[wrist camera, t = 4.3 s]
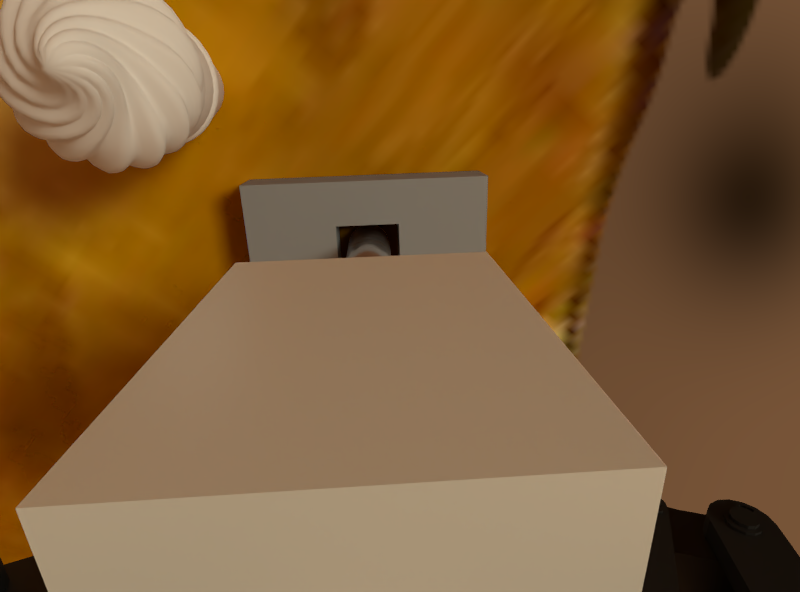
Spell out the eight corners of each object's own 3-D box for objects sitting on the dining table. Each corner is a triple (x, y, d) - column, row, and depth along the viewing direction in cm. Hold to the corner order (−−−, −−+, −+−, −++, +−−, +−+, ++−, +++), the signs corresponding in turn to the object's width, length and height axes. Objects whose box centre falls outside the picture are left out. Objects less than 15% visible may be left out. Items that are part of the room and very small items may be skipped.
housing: (267, 468, 20) (153, 861, 9) (235, 262, 17) (15, 508, 6) (479, 454, 20) (595, 818, 10) (486, 251, 17) (667, 467, 7)
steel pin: (350, 264, 36) (340, 332, 25) (347, 225, 35) (336, 277, 24) (390, 263, 37) (398, 329, 25) (388, 223, 36) (396, 274, 24)
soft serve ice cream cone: (157, 168, 33) (-17, 214, 18) (99, 35, 30) (-166, -39, 15) (274, 134, 33) (193, 152, 18) (226, -3, 30) (83, -119, 15)
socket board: (283, 422, 41) (277, 445, 38) (250, 179, 34) (239, 185, 31) (472, 411, 42) (479, 432, 39) (478, 170, 35) (487, 175, 32)
